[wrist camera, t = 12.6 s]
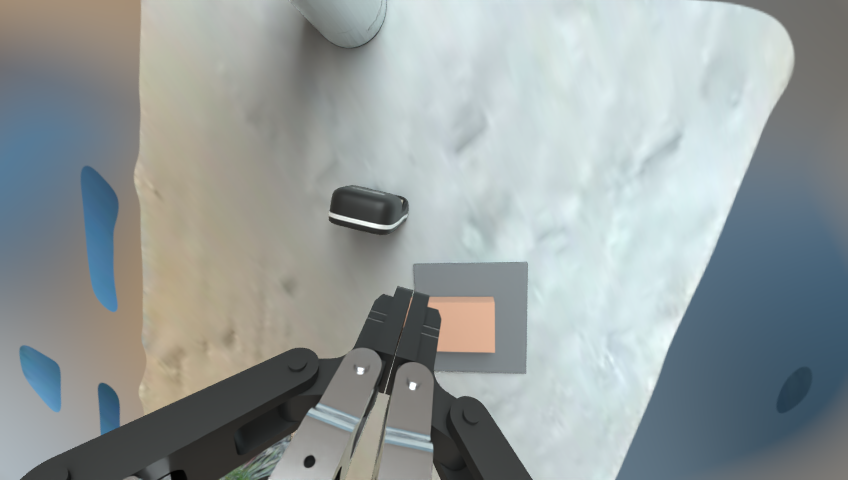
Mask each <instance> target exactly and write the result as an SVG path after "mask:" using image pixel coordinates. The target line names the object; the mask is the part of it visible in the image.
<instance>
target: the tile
mask: <svg viewBox="0 0 848 480" xmlns="http://www.w3.org/2000/svg"><path fill="white" fill-rule="evenodd" d="M412 298H413V297H411V301H412ZM411 301H410V304H411ZM410 304H409V308H410ZM427 307H431V308H434V309H438V310H439V313H440V316H441V319H442V320H441V327H440V333H439V338H438V346H437V351H444V352H489V353H495V302H494V298H493V297H429V302H428V306H427ZM409 308H408V311H409ZM407 315H408V312H407ZM406 318H407V316H406ZM405 321H406V319H405ZM404 325H405V323H404Z"/></svg>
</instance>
